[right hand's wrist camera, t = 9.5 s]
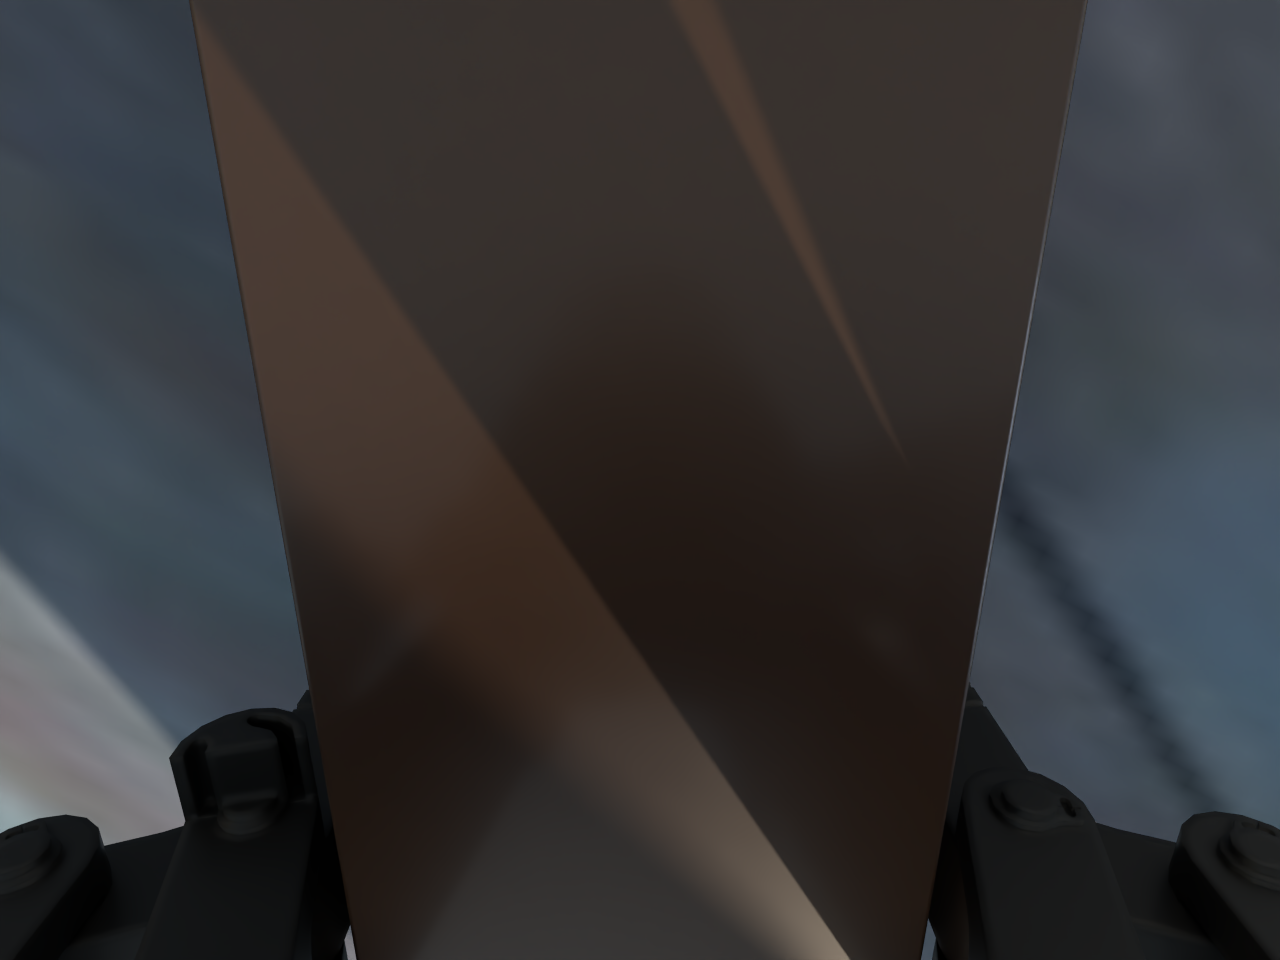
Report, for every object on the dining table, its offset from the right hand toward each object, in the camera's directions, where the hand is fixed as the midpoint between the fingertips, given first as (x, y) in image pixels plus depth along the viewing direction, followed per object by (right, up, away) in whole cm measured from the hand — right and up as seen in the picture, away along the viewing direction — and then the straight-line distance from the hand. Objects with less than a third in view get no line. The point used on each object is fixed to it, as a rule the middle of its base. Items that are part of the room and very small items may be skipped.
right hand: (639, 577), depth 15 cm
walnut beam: (0, +9, -3) cm, 9 cm away
